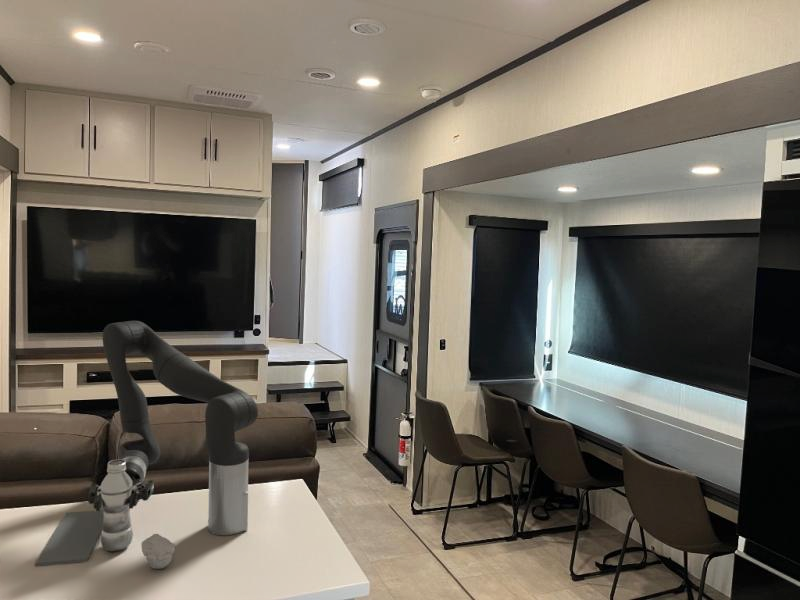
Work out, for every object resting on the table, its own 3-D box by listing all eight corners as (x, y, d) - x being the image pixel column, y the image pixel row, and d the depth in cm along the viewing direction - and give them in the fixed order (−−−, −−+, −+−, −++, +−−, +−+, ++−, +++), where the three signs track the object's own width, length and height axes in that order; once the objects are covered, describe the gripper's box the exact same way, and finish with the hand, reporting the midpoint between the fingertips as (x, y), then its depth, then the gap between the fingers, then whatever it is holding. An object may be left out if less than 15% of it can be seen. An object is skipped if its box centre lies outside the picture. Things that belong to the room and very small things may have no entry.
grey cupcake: (149, 558, 132) (149, 528, 132) (180, 560, 132) (180, 530, 131) (135, 574, 126) (135, 542, 126) (168, 576, 126) (168, 544, 125)
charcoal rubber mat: (110, 512, 153) (110, 509, 153) (87, 561, 130) (87, 558, 130) (66, 514, 150) (66, 512, 150) (35, 566, 127) (35, 563, 127)
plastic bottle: (139, 544, 138) (139, 460, 136) (114, 558, 132) (114, 470, 130) (119, 537, 141) (119, 454, 139) (93, 550, 134) (93, 464, 132)
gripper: (96, 462, 147) (78, 491, 130) (159, 460, 150) (149, 487, 134) (96, 492, 147) (78, 524, 131) (159, 489, 151) (149, 519, 135)
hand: (114, 505), depth 133 cm, fingers closed on plastic bottle, 6 cm apart
